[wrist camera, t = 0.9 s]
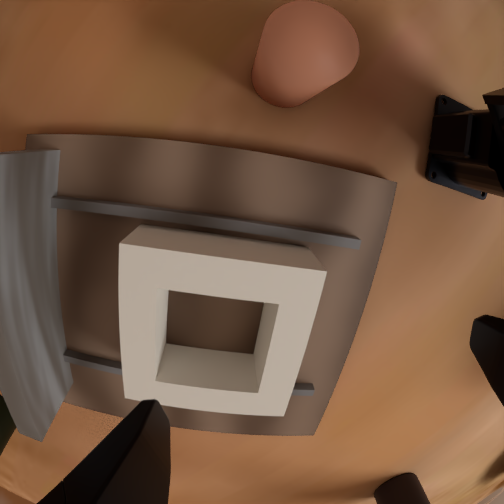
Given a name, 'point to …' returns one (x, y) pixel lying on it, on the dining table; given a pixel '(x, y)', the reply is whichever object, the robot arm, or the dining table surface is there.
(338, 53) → the dowel
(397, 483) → the vinegar
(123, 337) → the block
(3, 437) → the wine bottle
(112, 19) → the dining table surface
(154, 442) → the robot arm
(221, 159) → the board
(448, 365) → the dining table surface
